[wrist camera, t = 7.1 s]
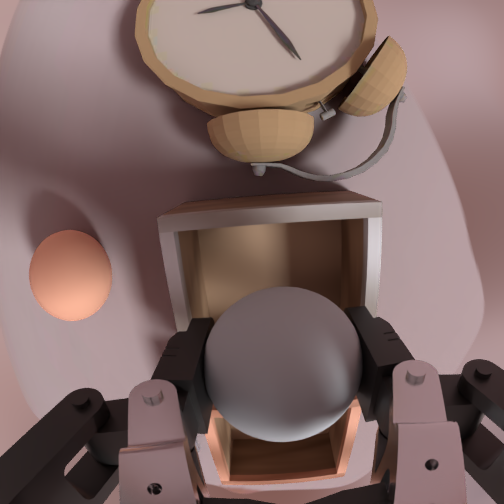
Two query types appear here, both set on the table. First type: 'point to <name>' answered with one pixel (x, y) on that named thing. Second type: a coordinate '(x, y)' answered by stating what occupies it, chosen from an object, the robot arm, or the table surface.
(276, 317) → the grey ball
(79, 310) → the terracotta ball
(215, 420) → the terracotta-rimmed square box
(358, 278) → the grey-band box
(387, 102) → the alarm clock
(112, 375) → the table surface
